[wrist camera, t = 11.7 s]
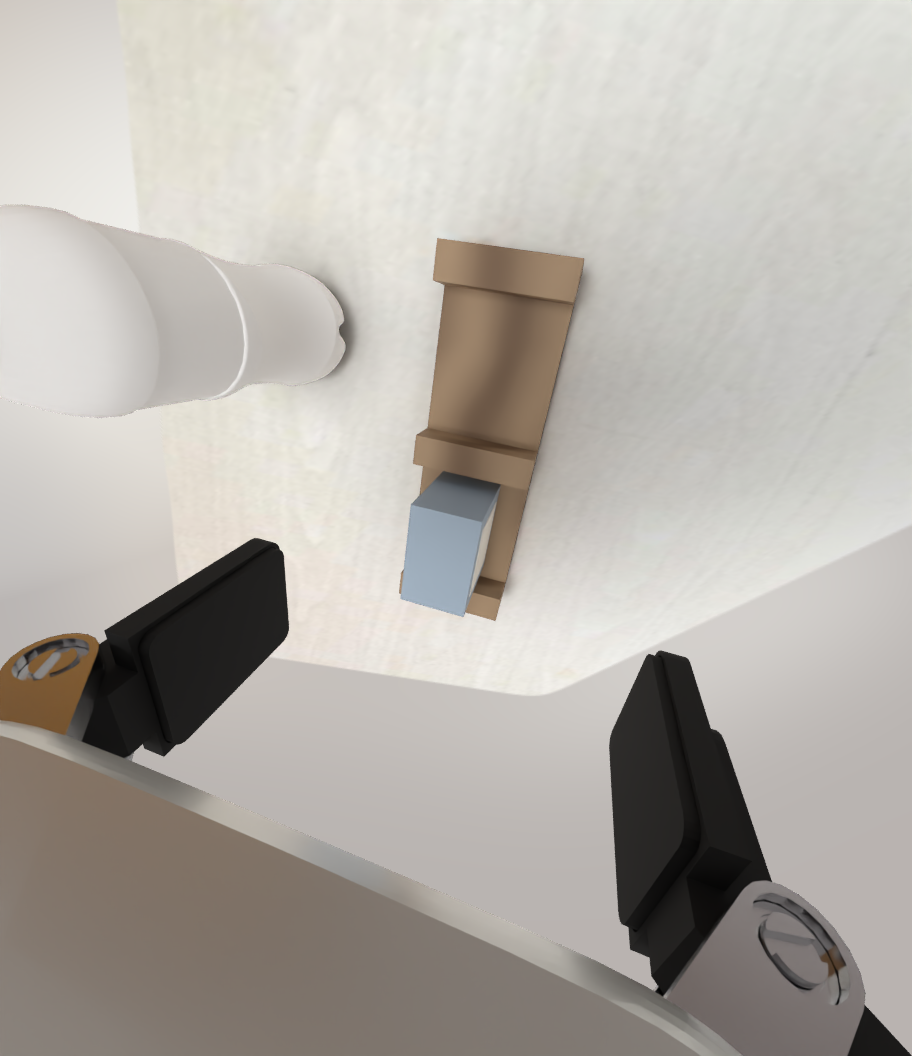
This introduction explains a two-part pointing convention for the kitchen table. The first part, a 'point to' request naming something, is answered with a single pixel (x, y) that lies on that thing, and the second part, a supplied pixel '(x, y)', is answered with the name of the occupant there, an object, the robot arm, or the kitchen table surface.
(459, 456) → the wooden divided rack
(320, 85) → the kitchen table surface
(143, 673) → the robot arm
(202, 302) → the water bottle
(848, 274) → the kitchen table surface
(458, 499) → the blue-grey rectangular block
